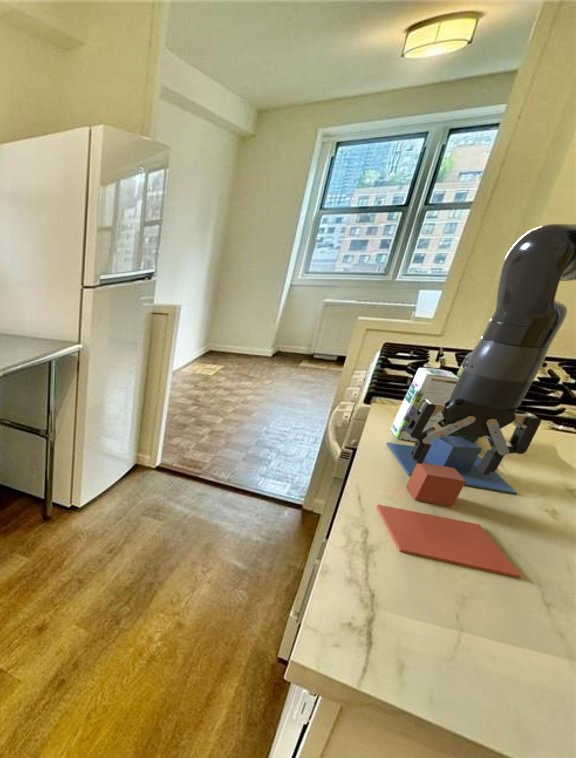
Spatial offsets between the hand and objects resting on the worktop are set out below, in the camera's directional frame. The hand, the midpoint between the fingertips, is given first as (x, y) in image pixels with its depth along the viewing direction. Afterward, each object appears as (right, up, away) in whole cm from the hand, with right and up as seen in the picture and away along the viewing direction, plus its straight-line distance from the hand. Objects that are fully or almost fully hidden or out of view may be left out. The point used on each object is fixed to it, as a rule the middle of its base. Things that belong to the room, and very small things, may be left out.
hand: (448, 467), depth 79 cm
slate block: (+12, 0, +13) cm, 18 cm away
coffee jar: (+27, +6, +26) cm, 38 cm away
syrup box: (+16, +5, +25) cm, 31 cm away
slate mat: (+12, 0, +13) cm, 18 cm away
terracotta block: (0, -5, +4) cm, 6 cm away
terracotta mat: (-8, -10, -7) cm, 15 cm away
